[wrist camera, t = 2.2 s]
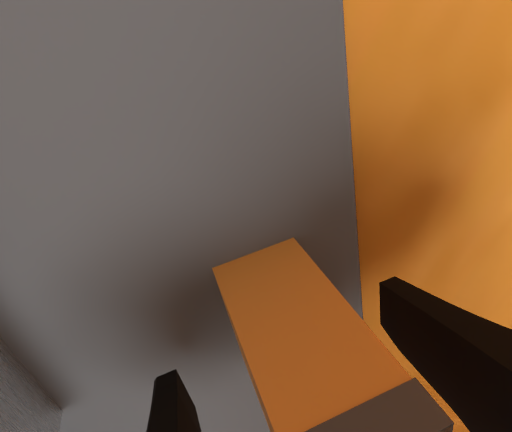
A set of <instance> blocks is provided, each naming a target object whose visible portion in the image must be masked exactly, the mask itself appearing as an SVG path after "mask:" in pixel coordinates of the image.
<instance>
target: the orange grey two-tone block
mask: <svg viewBox="0 0 512 432" xmlns="http://www.w3.org/2000/svg"><path fill="white" fill-rule="evenodd" d="M212 270H213V272H214V275H215V278H216V281H217V284H218V287H219V290H220V293H221V296H222V298H223V301H224V304H225V307H226V310H227V313H228V316H229V319H230V322H231V325H232V327H233V330H234V333H235V336H236V339H237V342H238V345H239V348H240V351H241V353H242V356H243V359H244V362H245V365H246V367H247V370H248V373H249V376H250V378H251V381H252V384H253V386H254V389H255V392H256V394H257V397H258V400H259V402H260V405H261V408H262V411H263V413H264V416H265V419H266V421H267V424H268V427H269V429H270V432H452V431H453V425H454V422H453V421H452V420H451V419H450V418H449V417H448V415H447V414H446V413H445V412H444V411H443V410H442V408H441V407H440V406H439V405H438V404H437V403H436V401H435V400H434V399H433V398H432V397H431V395H430V394H429V393H428V392H427V391H426V390H425V388H424V387H423V386H422V385H421V384H420V383H419V381H418V380H417V379H416V378H413V379H412V378H411V377H410V376H409V375H408V373H407V372H406V371H405V370H404V369H403V367H402V366H401V365H400V364H399V363H398V361H397V360H396V359H395V358H394V357H393V355H392V354H391V353H390V352H389V351H388V349H387V348H386V347H385V346H384V345H383V344H382V342H381V341H380V340H379V339H378V338H377V336H376V335H375V334H374V333H373V332H372V330H371V329H370V328H369V327H368V326H367V324H366V323H365V322H364V321H363V320H362V318H361V317H360V316H359V315H358V314H357V313H356V311H355V310H354V309H353V308H352V307H351V305H350V304H349V303H348V302H347V301H346V299H345V298H344V297H343V296H342V295H341V293H340V292H339V291H338V290H337V289H336V287H335V286H334V285H333V284H332V283H331V281H330V280H329V279H328V278H327V277H326V276H325V274H324V273H323V272H322V271H321V270H320V268H319V267H318V266H317V265H316V264H315V262H314V261H313V260H312V259H311V258H310V256H309V255H308V254H307V253H306V252H305V250H304V249H303V248H302V247H301V246H300V245H299V243H298V242H297V241H296V240H295V239H294V237H293V238H291V239H288V240H285V241H283V242H280V243H277V244H275V245H272V246H269V247H267V248H264V249H262V250H259V251H256V252H254V253H251V254H248V255H246V256H243V257H240V258H238V259H235V260H232V261H230V262H227V263H224V264H222V265H219V266H216V267H214V268H212Z"/></svg>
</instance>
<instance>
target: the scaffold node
mask: <svg viewBox="0 0 512 432" xmlns="http://www.w3.org/2000/svg"><path fill="white" fill-rule="evenodd" d="M62 411H63V410H62V409H61V408H60V406H59V405H58V404H57V403H56V402H55V401H54V400H53V398H52V397H51V396H50V395H49V394H48V393H47V391H46V390H45V389H44V388H43V387H42V386H41V385H40V383H39V382H38V381H37V380H36V379H35V378H34V376H33V375H32V374H31V373H30V372H29V371H28V370H27V368H26V367H25V366H24V365H23V364H22V363H21V361H20V360H19V359H18V358H17V357H16V356H15V354H14V353H13V352H12V351H11V350H10V349H9V348H8V346H7V345H6V344H5V343H4V342H3V341H2V339H1V338H0V432H59V430H60V423H61V417H62Z"/></svg>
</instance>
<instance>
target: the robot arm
mask: <svg viewBox="0 0 512 432" xmlns="http://www.w3.org/2000/svg"><path fill="white" fill-rule="evenodd" d="M379 285H380V322H381V325H382V327H383V328H384V329H385V331H386V332H387V334H388V335H389V337H390V338H391V340H392V341H393V342H394V344H395V345H396V346H397V348H398V349H399V350H400V351H401V353H402V354H403V355H404V356H405V357H406V358H407V359H408V361H409V362H410V363H411V364H412V365H413V366H414V367H415V368H416V370H417V371H418V372H419V373H420V374H421V375H422V376H423V377H424V378H425V379H426V381H427V382H428V383H429V384H430V385H431V386H432V387H433V388H434V389H435V390H436V392H437V393H438V394H439V395H440V396H441V397H442V398H443V399H444V400H445V402H446V403H447V404H448V405H449V406H450V407H451V408H452V410H453V411H454V412H455V413H456V414H457V416H458V417H459V418H460V419H461V420H462V422H463V423H464V424H465V426H466V427H467V428H468V430H469V431H470V432H512V329H509V328H506V327H504V326H501V325H499V324H496V323H494V322H491V321H489V320H487V319H484V318H482V317H479V316H477V315H475V314H472V313H470V312H468V311H466V310H463V309H461V308H459V307H457V306H455V305H452V304H450V303H448V302H446V301H444V300H442V299H440V298H438V297H436V296H434V295H432V294H429V293H427V292H425V291H423V290H421V289H419V288H417V287H415V286H413V285H411V284H409V283H407V282H405V281H403V280H401V279H399V278H397V277H392V278H390V279H387V280H385V281H383V282H380V283H379ZM146 432H201V428H200V424H199V420H198V415H197V411H196V407H195V405H194V403H193V401H192V399H191V397H190V395H189V393H188V391H187V389H186V387H185V386H184V384H183V382H182V380H181V378H180V376H179V374H178V372H177V370H176V369H175V370H172V371H170V372H167V373H165V374H163V375H160V376H158V377H156V379H155V381H154V388H153V395H152V402H151V408H150V414H149V420H148V425H147V430H146Z"/></svg>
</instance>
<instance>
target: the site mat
mask: <svg viewBox="0 0 512 432" xmlns="http://www.w3.org/2000/svg"><path fill="white" fill-rule="evenodd" d="M293 237H294V239H295V240H296V241H297V242H298V243H299V245H300V246H301V247H302V248H303V249H304V250H305V252H306V253H307V254H308V255H309V256H310V258H311V259H312V260H313V261H314V262H315V264H316V265H317V266H318V267H319V268H320V270H321V271H322V272H323V273H324V274H325V276H326V277H327V278H328V279H329V280H330V281H331V283H332V284H333V285H334V286H335V287H336V289H337V290H338V291H339V292H340V293H341V295H342V296H343V297H344V298H345V299H346V301H347V302H348V303H349V304H350V305H351V307H352V308H353V309H354V310H355V311H356V313H357V314H358V315H359V316H360V317H361V318H362V320H363V312H362V297H361V281H360V266H359V250H358V234H357V219H356V203H355V187H354V172H353V156H352V140H351V125H350V109H349V93H348V78H347V62H346V46H345V31H344V15H343V0H0V338H1V339H2V341H3V342H4V343H5V344H6V345H7V346H8V348H9V349H10V350H11V351H12V352H13V353H14V354H15V356H16V357H17V358H18V359H19V360H20V361H21V363H22V364H23V365H24V366H25V367H26V368H27V370H28V371H29V372H30V373H31V374H32V375H33V376H34V378H35V379H36V380H37V381H38V382H39V383H40V385H41V386H42V387H43V388H44V389H45V390H46V391H47V393H48V394H49V395H50V396H51V397H52V398H53V400H54V401H55V402H56V403H57V404H58V405H59V406H60V408H61V409H62V410H63V411H62V417H61V423H60V430H59V432H146V430H147V425H148V420H149V414H150V408H151V402H152V395H153V388H154V381H155V379H156V377H158V376H160V375H163V374H165V373H167V372H170V371H172V370H175V369H176V370H177V372H178V374H179V376H180V378H181V380H182V382H183V384H184V386H185V387H186V389H187V391H188V393H189V395H190V397H191V399H192V401H193V403H194V405H195V407H196V411H197V415H198V420H199V424H200V428H201V432H270V429H269V427H268V424H267V421H266V419H265V416H264V413H263V411H262V408H261V405H260V402H259V400H258V397H257V394H256V392H255V389H254V386H253V384H252V381H251V378H250V376H249V373H248V370H247V367H246V365H245V362H244V359H243V356H242V353H241V351H240V348H239V345H238V342H237V339H236V336H235V333H234V330H233V327H232V325H231V322H230V319H229V316H228V313H227V310H226V307H225V304H224V301H223V298H222V296H221V293H220V290H219V287H218V284H217V281H216V278H215V275H214V272H213V270H212V268H214V267H216V266H219V265H222V264H224V263H227V262H230V261H232V260H235V259H238V258H240V257H243V256H246V255H248V254H251V253H254V252H256V251H259V250H262V249H264V248H267V247H269V246H272V245H275V244H277V243H280V242H283V241H285V240H288V239H291V238H293Z"/></svg>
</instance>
